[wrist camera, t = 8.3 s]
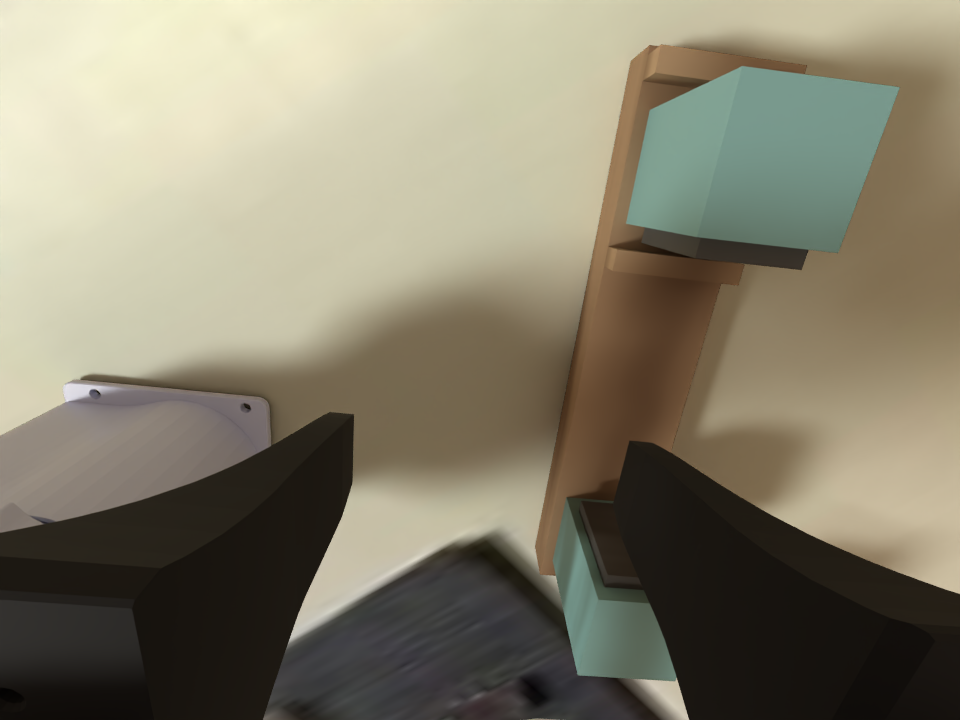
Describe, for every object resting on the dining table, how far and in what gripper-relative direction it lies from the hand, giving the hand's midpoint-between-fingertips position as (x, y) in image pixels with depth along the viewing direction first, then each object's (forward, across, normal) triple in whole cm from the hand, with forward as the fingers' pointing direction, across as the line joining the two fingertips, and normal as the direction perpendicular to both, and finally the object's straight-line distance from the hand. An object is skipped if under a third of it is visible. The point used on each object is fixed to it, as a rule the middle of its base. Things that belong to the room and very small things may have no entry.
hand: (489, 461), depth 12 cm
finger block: (+8, -7, -8) cm, 14 cm away
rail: (+10, -7, 0) cm, 13 cm away
